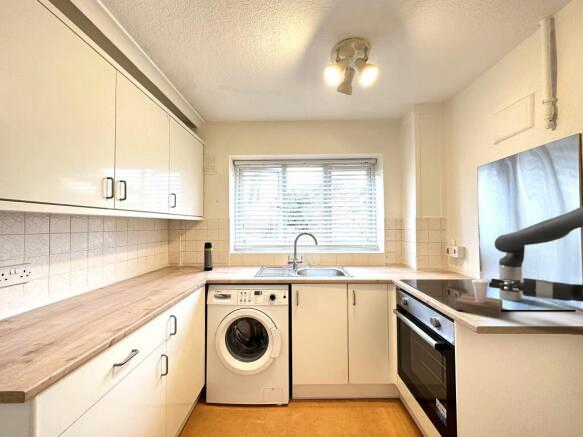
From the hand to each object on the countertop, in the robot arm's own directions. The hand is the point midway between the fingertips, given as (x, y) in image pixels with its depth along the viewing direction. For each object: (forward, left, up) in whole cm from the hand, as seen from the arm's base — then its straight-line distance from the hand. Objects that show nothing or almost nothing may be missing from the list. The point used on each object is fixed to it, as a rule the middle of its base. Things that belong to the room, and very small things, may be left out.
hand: (490, 282), depth 127 cm
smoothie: (+2, -3, -9) cm, 10 cm away
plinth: (0, -4, -13) cm, 14 cm away
